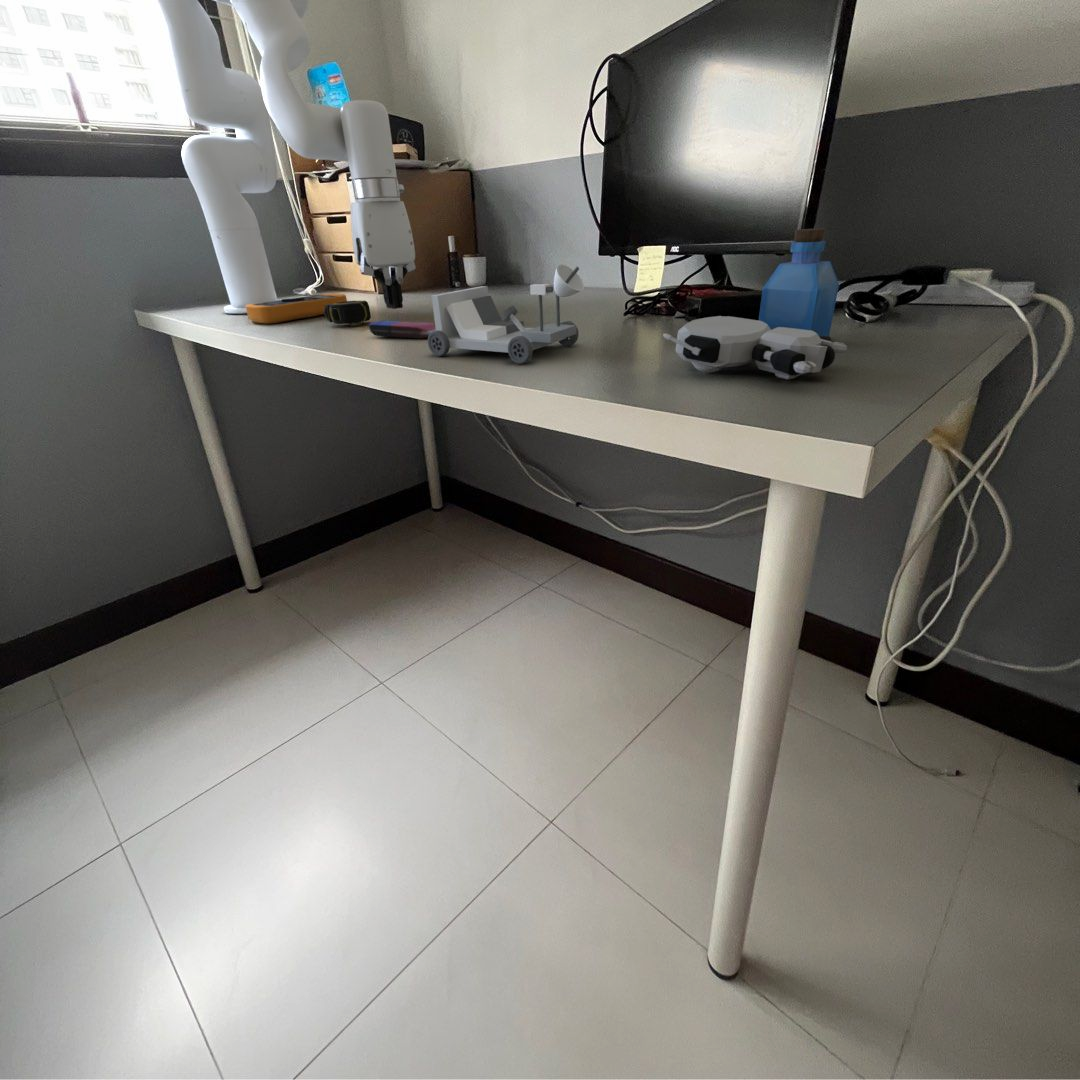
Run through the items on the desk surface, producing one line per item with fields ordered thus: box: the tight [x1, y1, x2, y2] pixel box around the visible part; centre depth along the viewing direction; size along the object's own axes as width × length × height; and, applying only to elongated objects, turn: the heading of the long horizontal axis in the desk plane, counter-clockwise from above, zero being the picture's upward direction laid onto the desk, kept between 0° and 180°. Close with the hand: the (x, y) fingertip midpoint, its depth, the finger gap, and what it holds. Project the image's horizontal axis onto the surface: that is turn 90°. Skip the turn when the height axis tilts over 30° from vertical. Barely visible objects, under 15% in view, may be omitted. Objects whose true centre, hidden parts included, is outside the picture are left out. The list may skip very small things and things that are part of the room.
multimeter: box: [245, 292, 348, 325], centre depth 111 cm, size 9×18×3 cm, turn 141°
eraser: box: [368, 320, 436, 339], centre depth 86 cm, size 11×4×2 cm, turn 67°
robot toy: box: [662, 315, 848, 380], centre depth 56 cm, size 12×4×15 cm
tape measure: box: [324, 300, 372, 327], centre depth 98 cm, size 7×7×4 cm
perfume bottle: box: [758, 228, 840, 336], centre depth 66 cm, size 6×6×12 cm
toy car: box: [427, 263, 585, 365], centre depth 70 cm, size 18×10×12 cm
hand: (394, 307), depth 106 cm, fingers closed
